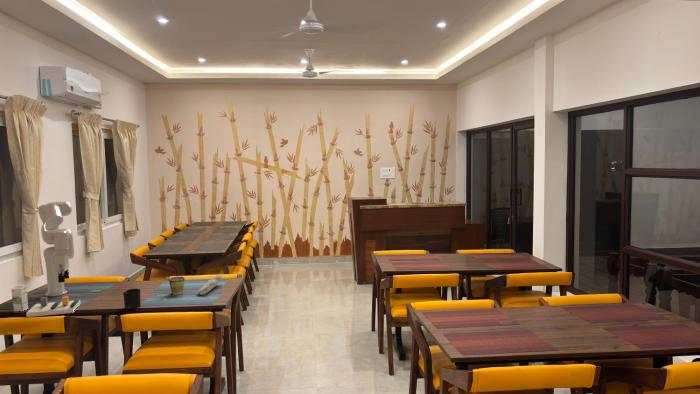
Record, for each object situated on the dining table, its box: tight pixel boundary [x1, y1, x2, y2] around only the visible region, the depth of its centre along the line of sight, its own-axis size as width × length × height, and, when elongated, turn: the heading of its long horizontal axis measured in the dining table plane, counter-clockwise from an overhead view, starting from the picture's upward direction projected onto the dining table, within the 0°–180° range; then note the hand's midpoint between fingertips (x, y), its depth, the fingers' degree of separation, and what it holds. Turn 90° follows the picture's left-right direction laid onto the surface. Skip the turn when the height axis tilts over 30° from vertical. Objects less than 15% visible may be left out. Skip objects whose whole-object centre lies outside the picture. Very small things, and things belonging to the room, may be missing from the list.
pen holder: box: [122, 288, 142, 310], centre depth 302 cm, size 9×9×10 cm
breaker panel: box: [25, 299, 82, 318], centre depth 299 cm, size 18×24×3 cm
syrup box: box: [11, 285, 29, 312], centre depth 298 cm, size 6×6×14 cm
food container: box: [196, 274, 223, 296], centre depth 338 cm, size 12×30×6 cm, turn 177°
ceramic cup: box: [168, 276, 186, 296], centre depth 332 cm, size 13×10×10 cm
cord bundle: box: [51, 297, 80, 310], centre depth 300 cm, size 15×12×2 cm
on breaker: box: [40, 296, 49, 306], centre depth 300 cm, size 2×3×4 cm
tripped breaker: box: [61, 295, 70, 305], centre depth 300 cm, size 2×3×4 cm
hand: (63, 280), depth 299 cm, fingers open, 9 cm apart
